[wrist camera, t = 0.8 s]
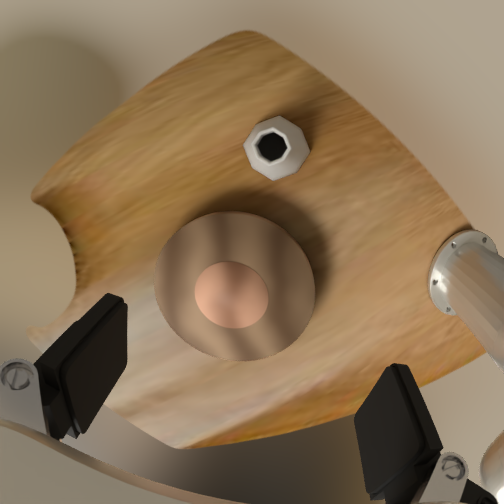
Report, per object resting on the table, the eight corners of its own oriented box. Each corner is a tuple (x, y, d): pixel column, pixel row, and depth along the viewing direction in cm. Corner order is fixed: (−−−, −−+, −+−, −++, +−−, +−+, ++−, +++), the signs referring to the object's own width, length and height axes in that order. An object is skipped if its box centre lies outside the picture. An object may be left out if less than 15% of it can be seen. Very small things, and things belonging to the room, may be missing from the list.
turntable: (303, 198, 33) (303, 201, 31) (320, 346, 39) (321, 354, 37) (142, 226, 36) (135, 229, 34) (183, 355, 42) (179, 363, 40)
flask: (280, 105, 31) (276, 86, 22) (321, 153, 32) (333, 154, 23) (232, 144, 33) (209, 141, 24) (272, 191, 34) (265, 207, 25)
